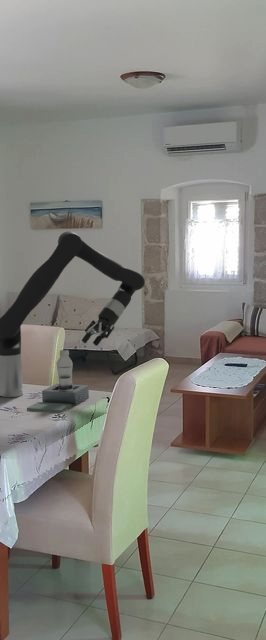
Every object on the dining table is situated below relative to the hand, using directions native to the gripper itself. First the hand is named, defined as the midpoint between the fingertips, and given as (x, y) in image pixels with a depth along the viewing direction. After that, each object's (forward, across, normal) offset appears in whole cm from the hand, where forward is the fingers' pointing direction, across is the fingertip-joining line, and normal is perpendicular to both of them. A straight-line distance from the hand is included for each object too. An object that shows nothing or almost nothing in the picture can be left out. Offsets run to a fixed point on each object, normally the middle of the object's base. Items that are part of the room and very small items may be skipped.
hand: (88, 343), depth 260 cm
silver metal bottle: (+24, 0, +7) cm, 25 cm away
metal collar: (+23, 0, +7) cm, 24 cm away
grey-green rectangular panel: (+31, +7, -1) cm, 32 cm away
